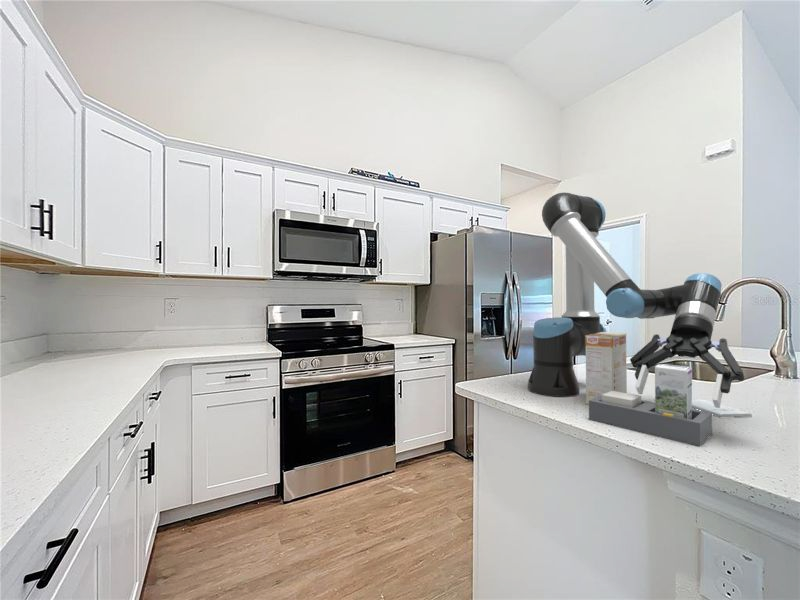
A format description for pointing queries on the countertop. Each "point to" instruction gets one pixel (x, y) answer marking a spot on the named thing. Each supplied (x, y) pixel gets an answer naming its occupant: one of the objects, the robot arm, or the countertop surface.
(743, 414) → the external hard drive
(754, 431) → the countertop surface
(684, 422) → the gray desk organizer tray
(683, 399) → the syrup box
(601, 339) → the coffeecake box
